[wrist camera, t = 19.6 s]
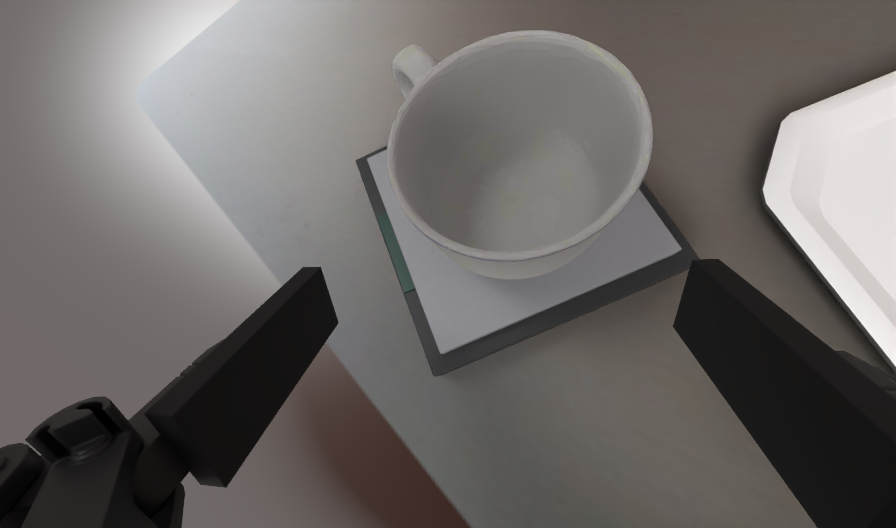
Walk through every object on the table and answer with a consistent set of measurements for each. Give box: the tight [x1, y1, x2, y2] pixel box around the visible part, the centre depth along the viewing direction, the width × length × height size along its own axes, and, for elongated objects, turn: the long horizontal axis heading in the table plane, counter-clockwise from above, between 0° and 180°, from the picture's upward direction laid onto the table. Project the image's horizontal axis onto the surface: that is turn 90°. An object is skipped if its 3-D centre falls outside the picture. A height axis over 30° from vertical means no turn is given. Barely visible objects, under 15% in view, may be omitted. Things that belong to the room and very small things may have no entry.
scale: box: [356, 146, 700, 376], centre depth 23 cm, size 17×17×3 cm
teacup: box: [387, 30, 653, 279], centre depth 17 cm, size 14×11×8 cm
